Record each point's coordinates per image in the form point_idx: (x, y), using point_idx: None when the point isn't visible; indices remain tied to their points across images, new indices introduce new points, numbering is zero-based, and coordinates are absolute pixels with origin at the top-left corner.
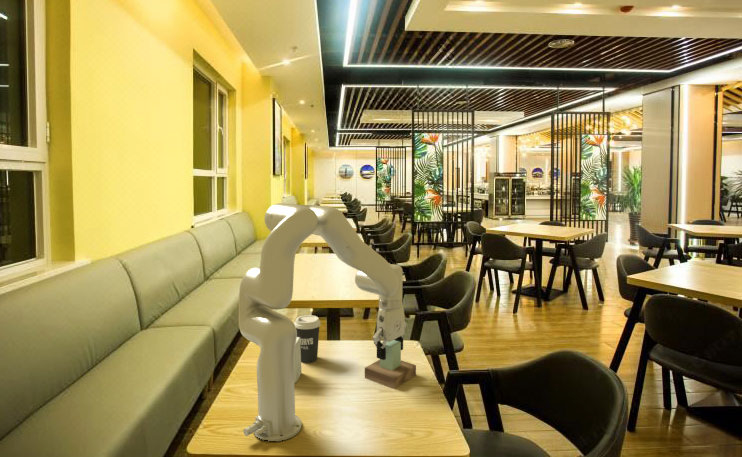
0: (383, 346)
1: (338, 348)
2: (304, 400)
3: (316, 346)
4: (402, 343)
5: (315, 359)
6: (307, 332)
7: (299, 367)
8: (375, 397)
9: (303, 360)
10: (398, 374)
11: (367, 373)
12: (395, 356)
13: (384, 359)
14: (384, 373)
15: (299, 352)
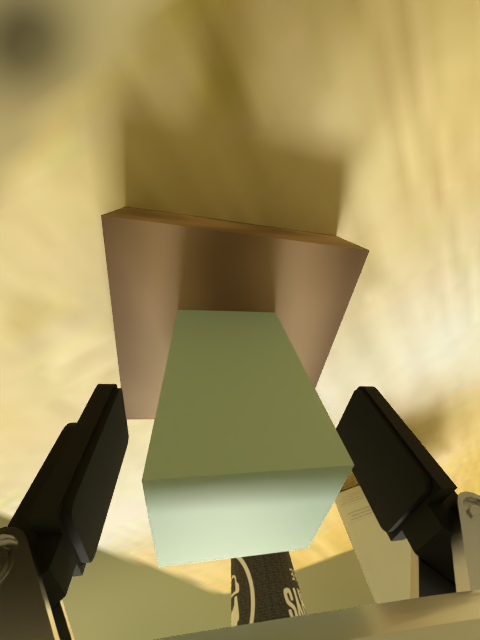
0: (474, 519)
1: (145, 524)
2: (473, 419)
3: (263, 569)
4: (83, 445)
5: None
6: None
7: (367, 517)
8: (432, 270)
9: None
10: (310, 255)
11: None
12: (254, 363)
13: (374, 389)
14: (327, 327)
15: (388, 578)
